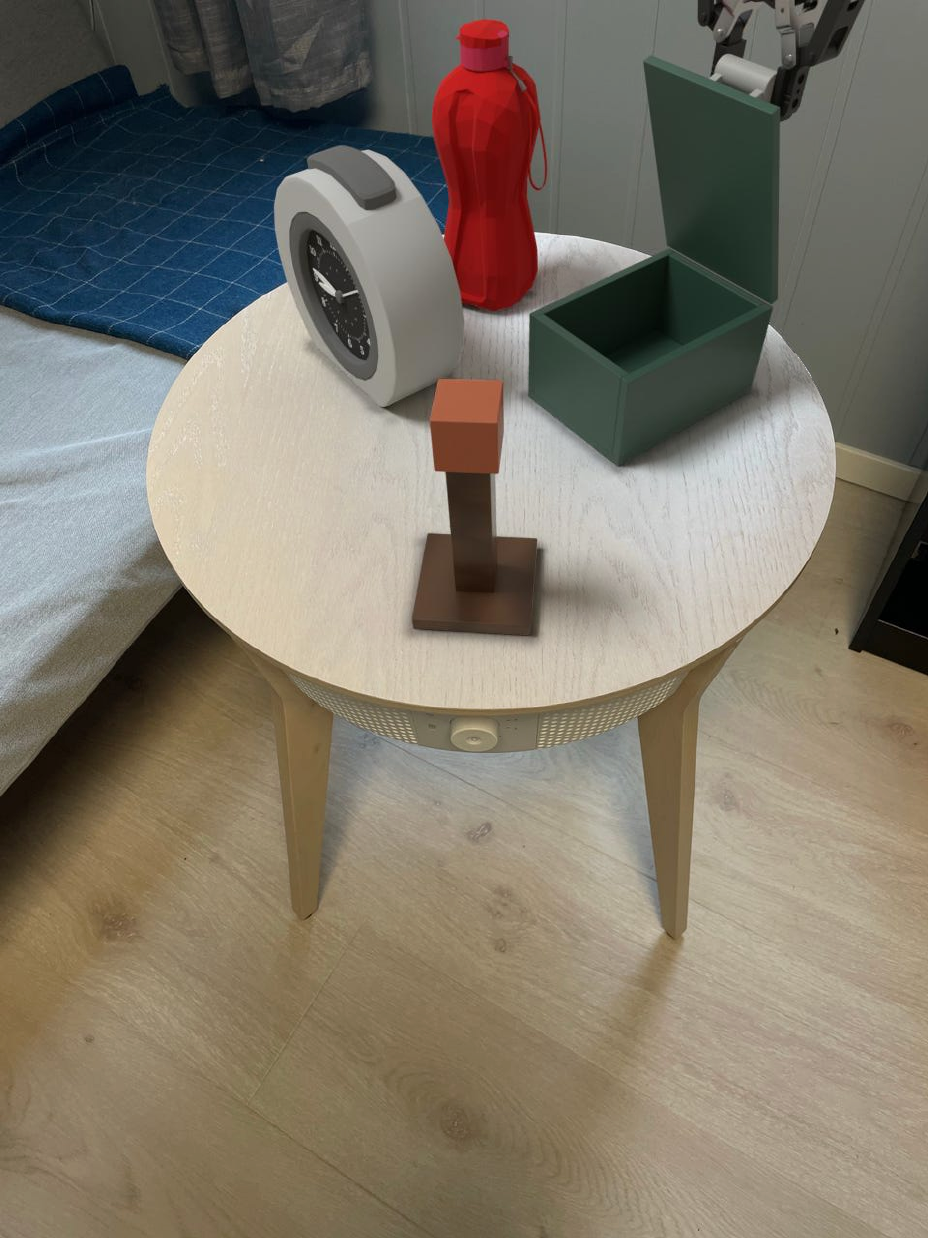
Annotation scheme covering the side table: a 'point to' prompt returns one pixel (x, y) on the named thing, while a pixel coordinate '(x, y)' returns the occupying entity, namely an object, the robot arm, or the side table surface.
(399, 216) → the alarm clock
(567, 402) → the bin
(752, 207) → the bin lid
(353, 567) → the side table surface
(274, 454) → the side table surface
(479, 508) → the stand
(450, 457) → the block
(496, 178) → the water bottle
